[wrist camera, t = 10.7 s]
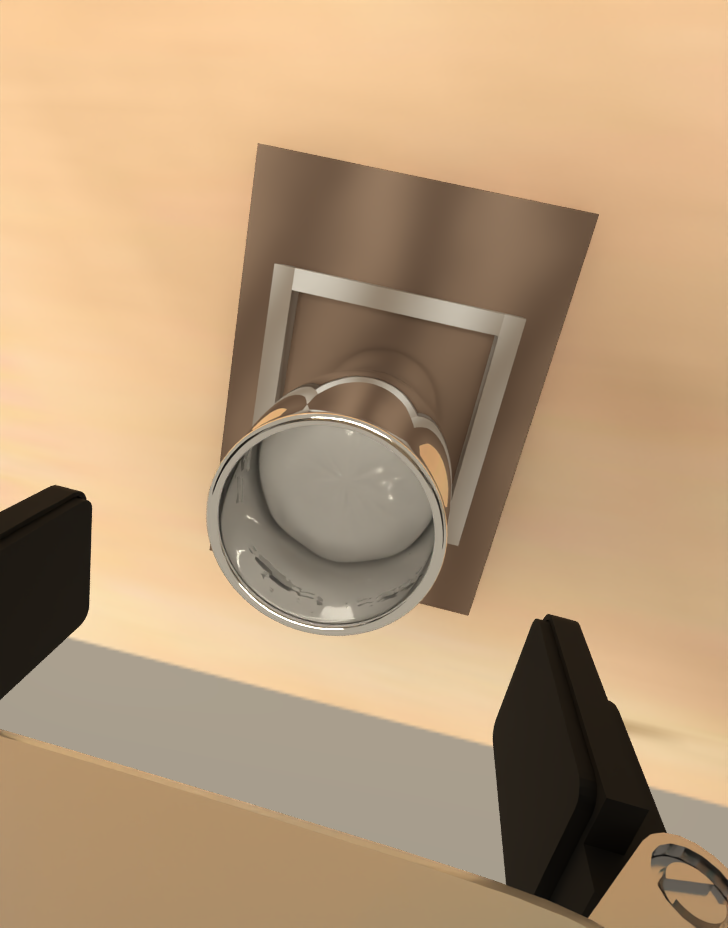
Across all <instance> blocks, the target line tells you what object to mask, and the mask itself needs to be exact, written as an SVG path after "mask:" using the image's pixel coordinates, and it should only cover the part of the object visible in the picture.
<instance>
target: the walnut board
mask: <svg viewBox="0 0 728 928" xmlns="http://www.w3.org/2000/svg"><path fill="white" fill-rule="evenodd" d="M598 216H599V214H595V213H590V212H585V211H580V210H575V209H571V208H566V207H561V206H556V205H551V204H547V203H542V202H537V201H532V200H527V199H523V198H518V197H513V196H508V195H503V194H499V193H494V192H489V191H484V190H479V189H475V188H470V187H465V186H460V185H456V184H451V183H446V182H441V181H436V180H432V179H427V178H422V177H417V176H412V175H408V174H403V173H398V172H393V171H388V170H384V169H379V168H374V167H369V166H364V165H360V164H355V163H350V162H345V161H340V160H336V159H331V158H326V157H321V156H316V155H312V154H307V153H302V152H297V151H293V150H288V149H283V148H278V147H273V146H269V145H264V144H259V143H258V147H257V155H256V164H255V172H254V180H253V189H252V197H251V206H250V214H249V223H248V231H247V239H246V248H245V256H244V265H243V273H242V282H241V290H240V298H239V307H238V315H237V324H236V332H235V341H234V349H233V357H232V366H231V374H230V383H229V391H228V399H227V408H226V416H225V425H224V433H223V442H222V450H221V458H220V464H221V462H222V460H223V459H224V457H225V456H226V455H227V453H228V452H229V451H230V450H231V449H232V448H233V446H234V445H235V444H236V443H237V442H239V441H240V440H241V439H242V438H243V437H244V436H245V435H246V433H247V432H248V431H249V430H250V429H251V427H252V426H253V425H254V424H255V423H256V422H257V421H258V419H259V418H260V417H261V416H262V415H263V414H264V413H265V412H266V411H267V410H268V409H269V408H271V407H272V406H273V405H274V404H275V403H276V402H277V401H278V400H279V399H281V398H282V397H283V396H284V395H286V394H287V393H289V392H290V391H292V390H294V389H295V388H297V387H298V386H300V385H302V384H303V383H305V382H307V381H309V380H311V379H313V378H316V377H319V376H321V375H325V374H329V373H333V372H334V371H335V370H336V368H337V367H338V366H339V365H340V364H341V363H343V362H344V361H345V360H347V359H348V358H350V357H351V356H353V355H356V354H358V353H361V352H364V351H368V350H378V349H380V350H390V351H394V352H398V353H400V354H403V355H405V356H407V357H409V358H410V359H412V360H413V361H415V362H416V363H417V364H418V365H420V366H421V367H422V368H423V370H424V371H425V372H426V373H427V375H428V376H429V378H430V380H431V382H432V384H433V386H434V389H435V392H436V396H437V401H438V415H437V421H438V423H439V425H440V427H441V429H442V431H443V433H444V436H445V439H446V442H447V446H448V451H449V457H450V463H451V471H452V497H451V508H450V516H449V523H448V528H447V547H446V553H445V557H444V561H443V564H442V567H441V570H440V572H439V575H438V577H437V579H436V581H435V582H434V584H433V586H432V587H431V589H430V590H429V592H428V593H427V594H426V596H425V597H424V598H423V599H422V600H421V601H420V602H419V603H421V604H425V605H429V606H433V607H437V608H440V609H444V610H448V611H452V612H456V613H460V614H464V615H469V612H470V609H471V606H472V603H473V600H474V597H475V594H476V590H477V587H478V584H479V581H480V578H481V575H482V572H483V569H484V566H485V563H486V560H487V557H488V554H489V551H490V548H491V544H492V541H493V538H494V535H495V532H496V529H497V526H498V523H499V520H500V517H501V514H502V511H503V508H504V505H505V501H506V498H507V495H508V492H509V489H510V486H511V483H512V480H513V477H514V474H515V471H516V468H517V465H518V462H519V458H520V455H521V452H522V449H523V446H524V443H525V440H526V437H527V434H528V431H529V428H530V425H531V422H532V419H533V416H534V412H535V409H536V406H537V403H538V400H539V397H540V394H541V391H542V388H543V385H544V382H545V379H546V376H547V373H548V369H549V366H550V363H551V360H552V357H553V354H554V351H555V348H556V345H557V342H558V339H559V336H560V333H561V330H562V326H563V323H564V320H565V317H566V314H567V311H568V308H569V305H570V302H571V299H572V296H573V293H574V290H575V287H576V284H577V280H578V277H579V274H580V271H581V268H582V265H583V262H584V259H585V256H586V253H587V250H588V247H589V244H590V241H591V237H592V234H593V231H594V228H595V225H596V222H597V219H598ZM210 550H211V551H212V548H211V544H210Z"/></svg>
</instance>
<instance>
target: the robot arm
mask: <svg viewBox="0 0 728 928" xmlns="http://www.w3.org/2000/svg"><path fill="white" fill-rule="evenodd" d="M91 527H92V505H91V503H90V502H89V501H88V500H86V496H85V494H84V493H83V492H80V491H77V490H73V489H69V488H65V487H61V486H57V485H53V486H50V487H48V488H46V489H44V490H42V491H40V492H38V493H36V494H34V495H33V496H31V497H29V498H27V499H25V500H23V501H21V502H19V503H17V504H15V505H13V506H11V507H9V508H7V509H5V510H3V511H1V512H0V700H1V699H2V698H3V697H4V696H5V695H6V694H7V693H8V692H9V691H10V690H11V689H12V688H13V687H15V685H16V684H18V683H19V682H20V681H21V680H22V679H23V678H24V677H25V676H26V675H27V674H28V673H30V671H32V670H33V669H34V668H35V667H36V666H37V665H38V664H39V663H40V662H41V661H42V660H44V659H45V658H46V657H47V656H48V655H49V654H50V653H51V652H52V651H53V650H54V649H55V648H56V647H58V645H60V644H61V643H62V642H63V641H64V640H65V639H66V638H67V637H68V636H69V635H70V634H72V633H73V632H74V631H75V630H76V629H77V628H78V627H79V626H80V625H81V624H82V623H83V621H84V620H85V618H86V616H87V614H88V610H89V594H90V560H91ZM493 748H494V759H495V769H496V780H497V791H498V802H499V811H500V823H501V834H502V844H503V854H504V866H505V877H506V885H505V884H502V883H499V882H497V881H494V880H491V879H488V878H485V877H482V876H479V875H476V874H473V873H470V872H467V871H464V870H460V869H457V868H454V867H451V866H448V865H445V864H442V863H439V862H436V861H433V860H430V859H427V858H423V857H420V856H417V855H414V854H411V853H408V852H405V851H402V850H399V849H396V848H393V847H389V846H386V845H383V844H379V843H376V842H373V841H370V840H367V839H363V838H360V837H356V836H353V835H350V834H347V833H344V832H341V831H337V830H334V829H331V828H328V827H324V826H321V825H318V824H315V823H311V822H308V821H305V820H302V819H298V818H295V817H292V816H289V815H285V814H282V813H279V812H276V811H272V810H269V809H266V808H262V807H259V806H256V805H253V804H249V803H246V802H243V801H240V800H236V799H233V798H230V797H226V796H223V795H220V794H216V793H213V792H210V791H206V790H203V789H200V788H197V787H193V786H190V785H187V784H183V783H180V782H177V781H173V780H170V779H167V778H163V777H160V776H157V775H153V774H150V773H146V772H143V771H140V770H137V769H133V768H130V767H127V766H123V765H120V764H117V763H113V762H110V761H107V760H103V759H100V758H97V757H93V756H90V755H87V754H83V753H80V752H77V751H73V750H70V749H66V748H63V747H60V746H56V745H53V744H49V743H46V742H42V741H39V740H36V739H32V738H29V737H26V736H22V735H19V734H15V733H12V732H9V731H5V730H2V729H0V928H728V869H727V868H726V867H725V866H724V865H723V864H722V863H721V862H720V861H719V860H718V859H717V858H716V857H714V856H713V855H712V854H710V853H709V852H707V851H706V850H705V849H703V848H702V847H700V846H699V845H697V844H696V843H694V842H691V841H689V840H687V839H685V838H683V837H681V836H678V835H673V834H668V833H667V832H666V830H665V827H664V825H663V822H662V820H661V817H660V815H659V812H658V810H657V807H656V804H655V802H654V799H653V797H652V794H651V792H650V789H649V787H648V784H647V782H646V779H645V776H644V774H643V771H642V769H641V766H640V764H639V761H638V759H637V756H636V754H635V751H634V748H633V746H632V743H631V741H630V738H629V736H628V733H627V731H626V728H625V726H624V723H623V720H622V718H621V715H620V713H619V711H618V709H617V707H616V705H615V704H614V703H612V702H611V701H608V699H607V696H606V694H605V691H604V688H603V686H602V683H601V680H600V678H599V675H598V673H597V670H596V667H595V665H594V662H593V659H592V657H591V654H590V651H589V649H588V646H587V643H586V641H585V638H584V635H583V633H582V630H581V627H580V625H579V623H578V622H576V621H573V620H569V619H565V618H562V617H558V616H554V615H550V614H548V615H546V616H545V617H544V619H543V620H540V619H535V620H534V621H533V623H532V626H531V628H530V631H529V634H528V636H527V639H526V642H525V644H524V647H523V649H522V652H521V655H520V657H519V660H518V663H517V665H516V668H515V671H514V673H513V676H512V678H511V681H510V684H509V686H508V689H507V692H506V694H505V697H504V700H503V702H502V705H501V708H500V710H499V713H498V715H497V718H496V721H495V725H494V730H493Z"/></svg>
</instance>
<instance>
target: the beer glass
mask: <svg viewBox="0 0 728 928" xmlns="http://www.w3.org/2000/svg"><path fill="white" fill-rule="evenodd" d="M437 415H438V401H437V396H436V392H435V389H434V386H433V384H432V382H431V380H430V378H429V376H428V375H427V373H426V372H425V371H424V370H423V368H422V367H421V366H420V365H418V364H417V363H416V362H415V361H413V360H412V359H410V358H409V357H407V356H405V355H403V354H400V353H398V352H394V351H390V350H380V349H378V350H368V351H364V352H361V353H358V354H356V355H353V356H351V357H350V358H348V359H347V360H345V361H344V362H343V363H341V364H340V365H339V366H338V367H337V368H336V370H335V371H334V372H333V373H329V374H325V375H321V376H319V377H316V378H313V379H311V380H309V381H307V382H305V383H303V384H302V385H300V386H298V387H297V388H295V389H294V390H292V391H290V392H289V393H287V394H286V395H284V396H283V397H282V398H281V399H279V400H278V401H277V402H276V403H275V404H274V405H273V406H272V407H271V408H269V409H268V410H267V411H266V412H265V413H264V414H263V415H262V416H261V417H260V418H259V419H258V421H257V422H256V423H255V424H254V425H253V426H252V427H251V429H250V430H249V431H248V432H247V433H246V435H245V436H244V437H243V438H242V439H241V440H240V441H239V442H237V443H236V444H235V445H234V446H233V448H232V449H231V450H230V451H229V452H228V453H227V455H226V456H225V457H224V459H223V460H222V462H221V464H220V465H219V467H218V469H217V471H216V473H215V475H214V478H213V480H212V483H211V486H210V490H209V494H208V499H207V508H206V522H207V531H208V536H209V541H210V544H211V548H212V551H213V553H214V556H215V558H216V560H217V563H218V565H219V566H220V568H221V570H222V572H223V573H224V575H225V577H226V578H227V579H228V581H229V582H230V584H231V585H232V586H233V587H234V589H235V590H236V591H237V592H238V593H239V594H240V595H241V596H242V597H243V598H244V599H245V600H246V601H247V602H248V603H250V604H251V605H252V606H253V607H254V608H256V609H257V610H258V611H260V612H261V613H263V614H264V615H266V616H268V617H269V618H271V619H273V620H275V621H277V622H279V623H281V624H283V625H286V626H288V627H291V628H294V629H297V630H300V631H304V632H308V633H313V634H319V635H329V636H345V635H354V634H360V633H365V632H369V631H373V630H376V629H379V628H382V627H384V626H386V625H388V624H390V623H392V622H394V621H396V620H398V619H399V618H401V617H403V616H404V615H406V614H407V613H408V612H409V611H411V610H412V609H413V608H414V607H415V606H416V605H417V604H418V603H419V602H420V601H421V600H422V599H423V598H424V597H425V596H426V594H427V593H428V592H429V590H430V589H431V587H432V586H433V584H434V582H435V581H436V579H437V577H438V575H439V572H440V570H441V567H442V564H443V561H444V557H445V553H446V547H447V528H448V523H449V516H450V508H451V497H452V471H451V463H450V457H449V451H448V446H447V442H446V439H445V436H444V433H443V431H442V429H441V427H440V425H439V423H438V421H437Z"/></svg>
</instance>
